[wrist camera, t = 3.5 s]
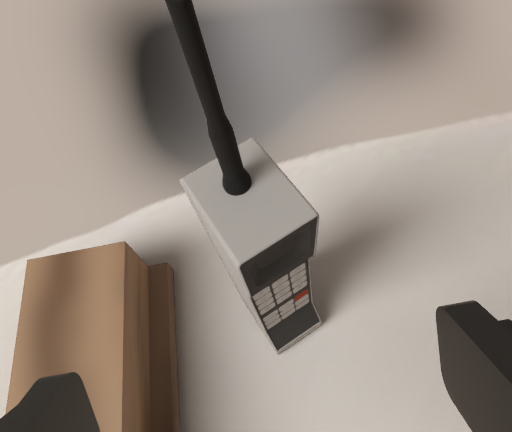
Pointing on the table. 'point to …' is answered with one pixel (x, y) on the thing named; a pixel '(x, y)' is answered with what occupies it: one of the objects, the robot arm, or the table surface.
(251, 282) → the vintage mobile phone
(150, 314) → the walnut ridge
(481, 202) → the table surface
